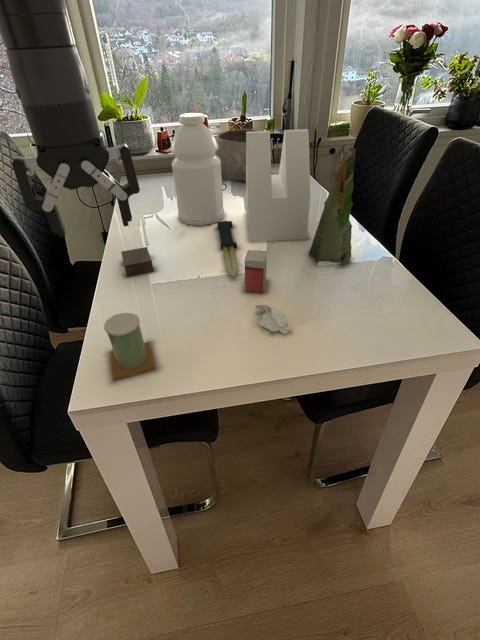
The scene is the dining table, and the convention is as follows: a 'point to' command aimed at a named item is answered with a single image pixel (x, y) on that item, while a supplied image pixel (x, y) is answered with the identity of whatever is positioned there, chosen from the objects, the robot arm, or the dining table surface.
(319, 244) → the pouch
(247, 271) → the small box
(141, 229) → the dining table surface
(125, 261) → the walnut wood block
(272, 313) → the tissue
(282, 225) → the white slotted block
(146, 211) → the dining table surface
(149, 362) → the coaster
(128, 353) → the tumbler
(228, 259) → the knife
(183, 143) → the bottle
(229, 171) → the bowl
